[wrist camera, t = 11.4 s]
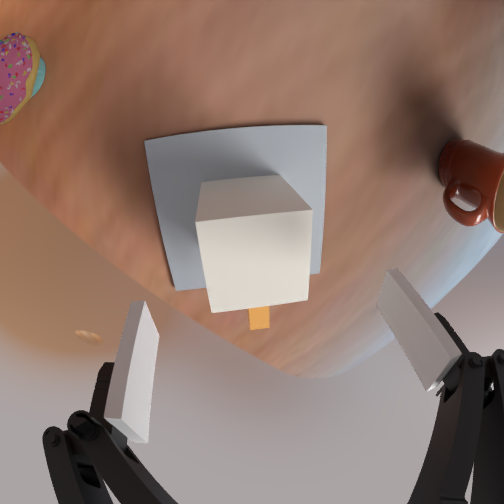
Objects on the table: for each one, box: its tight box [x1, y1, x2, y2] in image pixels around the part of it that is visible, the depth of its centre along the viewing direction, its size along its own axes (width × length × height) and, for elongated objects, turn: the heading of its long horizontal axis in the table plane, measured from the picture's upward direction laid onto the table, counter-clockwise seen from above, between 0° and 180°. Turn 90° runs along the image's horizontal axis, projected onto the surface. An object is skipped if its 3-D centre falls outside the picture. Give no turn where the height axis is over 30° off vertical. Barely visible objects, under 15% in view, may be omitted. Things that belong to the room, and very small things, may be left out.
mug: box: [439, 139, 504, 233], centre depth 22 cm, size 12×9×10 cm
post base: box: [144, 125, 327, 291], centre depth 23 cm, size 16×16×6 cm
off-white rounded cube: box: [195, 175, 313, 330], centre depth 22 cm, size 10×7×9 cm, turn 3°
